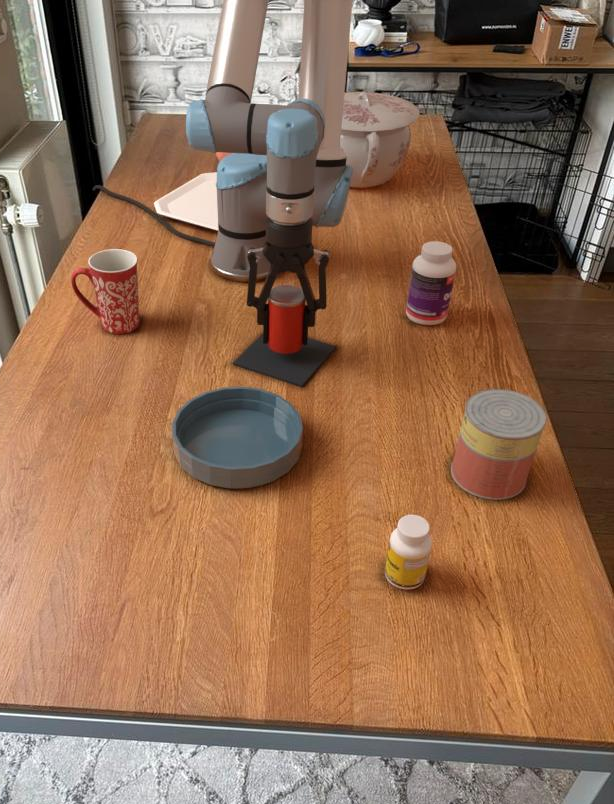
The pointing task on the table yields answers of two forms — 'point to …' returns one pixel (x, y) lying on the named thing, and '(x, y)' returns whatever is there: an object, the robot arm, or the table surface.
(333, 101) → the robot arm
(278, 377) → the mat
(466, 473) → the canned food
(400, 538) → the supplement bottle
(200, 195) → the plate
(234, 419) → the dish
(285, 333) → the tin can
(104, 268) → the mug
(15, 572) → the table surface
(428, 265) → the pill bottle
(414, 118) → the chamber pot
